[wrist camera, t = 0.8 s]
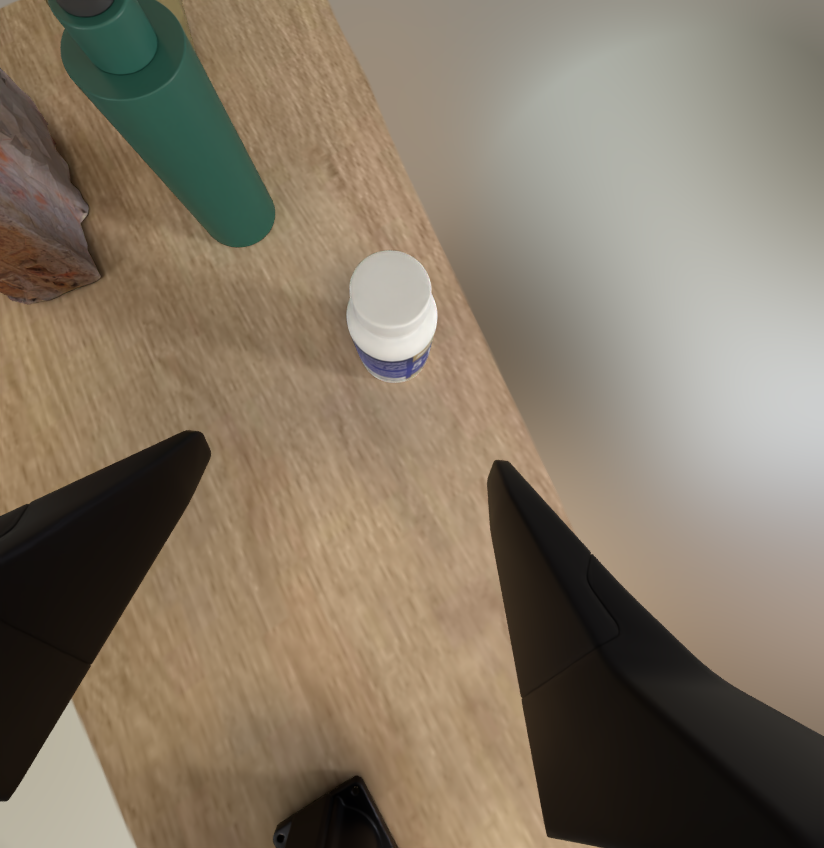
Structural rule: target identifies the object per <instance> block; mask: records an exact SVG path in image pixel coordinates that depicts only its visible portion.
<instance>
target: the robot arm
mask: <svg viewBox="0 0 824 848" xmlns="http://www.w3.org/2000/svg"><path fill="white" fill-rule="evenodd" d="M210 457H211V450H210V448H209V446H208V443H207V441H206V439H205V437H204V435H203V433H201V432H199V431H191V430H186V431H183V432H181V433H179V434H177V435H174V436H172V437H170V438H168V439H166V440H164V441H161V442H159V443H157V444H155V445H153V446H151V447H149V448H146V449H144V450H142V451H140V452H138V453H136V454H133V455H131V456H129V457H127V458H125V459H123V460H121V461H118V462H116V463H114V464H112V465H110V466H108V467H105V468H103V469H101V470H99V471H97V472H95V473H93V474H90V475H88V476H86V477H84V478H82V479H80V480H77V481H75V482H73V483H71V484H69V485H67V486H65V487H62V488H60V489H58V490H56V491H54V492H52V493H49V494H47V495H45V496H43V497H41V498H39V499H37V500H34V501H32V502H31V503H30V504H26V505H23V506H21V507H19V508H17V509H15V510H13V511H11V512H8V513H6V514H4V515H2V516H0V801H8V800H9V799H10V797H11V796H12V794H13V793H14V792H15V790H16V788H17V787H18V785H19V784H20V782H21V781H22V779H23V777H24V776H25V774H26V773H27V771H28V769H29V768H30V766H31V764H32V763H33V761H34V759H35V758H36V756H37V754H38V753H39V751H40V749H41V748H42V746H43V744H44V743H45V741H46V739H47V738H48V736H49V734H50V733H51V731H52V730H53V728H54V726H55V724H56V723H57V721H58V720H59V718H60V716H61V715H62V713H63V711H64V710H65V708H66V706H67V705H68V703H69V701H70V700H71V698H72V696H73V695H74V693H75V691H76V690H77V688H78V687H79V685H80V683H81V682H82V680H83V678H84V677H85V675H86V673H87V672H88V670H89V668H90V667H91V665H90V664H92V663H93V661H94V660H95V658H96V656H97V655H98V653H99V651H100V650H101V648H102V646H103V645H104V643H105V641H106V640H107V638H108V637H109V635H110V633H111V632H112V630H113V628H114V627H115V625H116V623H117V622H118V620H119V618H120V617H121V615H122V613H123V612H124V610H125V608H126V607H127V605H128V603H129V602H130V600H131V599H132V597H133V595H134V594H135V592H136V590H137V589H138V587H139V585H140V584H141V582H142V580H143V579H144V577H145V575H146V574H147V572H148V570H149V569H150V567H151V565H152V564H153V562H154V561H155V559H156V557H157V556H158V554H159V552H160V551H161V549H162V547H163V546H164V544H165V542H166V541H167V539H168V537H169V536H170V534H171V532H172V531H173V529H174V527H175V526H176V524H177V523H178V521H179V519H180V518H181V516H182V514H183V513H184V511H185V509H186V508H187V506H188V504H189V502H190V500H191V498H192V496H193V494H194V492H195V490H196V488H197V486H198V484H199V482H200V479H201V477H202V475H203V473H204V471H205V469H206V466H207V464H208V462H209V460H210ZM487 489H488V505H489V520H490V531H491V537H492V542H493V548H494V553H495V559H496V564H497V569H498V575H499V580H500V586H501V591H502V596H503V602H504V607H505V613H506V618H507V623H508V629H509V634H510V640H511V645H512V651H513V656H514V661H515V667H516V672H517V678H518V683H519V688H520V694H521V697H522V705H523V711H524V716H525V722H526V727H527V733H528V738H529V743H530V749H531V754H532V760H533V765H534V770H535V776H536V781H537V787H538V792H539V798H540V803H541V808H542V814H543V819H544V824H545V829H546V833H547V837H550V838H555V839H560V840H565V841H571V842H576V843H581V844H586V845H591V846H597V847H602V848H824V736H822V735H820V734H818V733H817V732H815V731H813V730H811V729H809V728H807V727H806V726H804V725H802V724H800V723H799V722H797V721H795V720H793V719H791V718H790V717H788V716H786V715H784V714H782V713H781V712H779V711H777V710H775V709H773V708H772V707H770V706H768V705H766V704H764V703H763V702H761V701H759V700H757V699H755V698H754V697H752V696H750V695H748V694H746V693H745V692H743V691H741V690H739V689H738V688H736V687H734V686H733V685H731V684H729V683H728V682H727V681H725V680H724V679H722V678H721V677H719V676H718V675H717V674H715V673H714V672H713V671H711V670H710V669H709V668H708V667H707V666H705V665H704V664H703V663H702V662H701V661H699V660H698V659H697V658H696V657H695V656H694V655H693V654H692V653H691V652H690V651H689V650H687V648H686V647H685V646H684V645H683V644H681V643H680V642H679V641H678V640H677V639H676V638H675V637H674V636H673V635H672V634H671V633H670V632H669V631H668V630H667V629H666V628H665V627H664V626H663V625H662V624H661V623H660V622H659V621H658V620H657V619H655V618H654V617H653V616H652V615H651V614H650V613H649V612H648V611H647V610H646V609H645V608H644V607H643V606H642V605H641V604H640V603H639V602H638V601H637V600H636V599H635V598H634V597H633V596H632V595H631V594H630V593H629V592H628V591H627V590H626V589H625V588H624V587H623V586H622V585H621V584H620V583H619V582H618V581H617V580H616V579H615V578H614V577H613V576H612V575H611V574H610V572H609V571H608V570H607V569H606V568H605V567H604V566H603V565H602V564H601V563H600V562H599V561H598V559H596V557H595V556H594V555H593V554H591V552H590V551H589V550H588V549H587V547H586V546H585V545H584V544H583V543H582V542H581V541H580V540H579V539H578V537H577V536H576V535H575V534H574V533H573V532H572V531H571V530H570V529H569V528H568V526H567V525H566V524H565V523H564V522H563V521H562V520H561V519H560V518H559V516H558V515H557V514H556V513H555V512H554V511H553V510H552V509H551V508H550V507H549V505H548V504H547V503H546V502H545V501H544V500H543V499H542V498H541V497H540V495H539V494H538V493H537V492H536V491H535V490H534V489H533V488H532V487H531V486H530V484H529V483H528V482H527V481H526V480H525V479H524V478H523V477H522V476H521V474H520V473H519V472H518V471H517V470H516V469H515V468H514V467H513V466H512V464H511V463H510V462H508V461H503V460H495V461H494V463H493V465H492V468H491V470H490V473H489V476H488V480H487ZM355 786H356V787H358V788H354V787H355ZM281 834H283V835H281ZM273 842H274V845H275V847H276V848H397V846H396V844H395V842H394V840H393V838H392V836H391V834H390V832H389V830H388V828H387V826H386V824H385V822H384V820H383V818H382V816H381V814H380V813H379V811H378V809H377V807H376V805H375V803H374V801H373V799H372V797H371V795H370V793H369V791H368V789H367V787H366V785H365V783H364V781H363V779H362V778H361V777H359V776H354V777H352V778H351V779H349V780H348V781H346V782H344V783H343V784H341V785H340V786H338V787H337V788H335V789H333V790H332V791H330V792H329V793H327V794H325V795H324V796H322V797H321V798H319V799H318V800H316V801H314V802H313V803H311V804H310V805H308V806H306V807H305V808H303V809H302V810H300V811H299V812H297V813H295V814H294V815H292V816H291V817H289V818H288V819H286V820H284V821H283V822H281V823H280V824H279V825H277V827H276V830H275V833H274V836H273Z"/></svg>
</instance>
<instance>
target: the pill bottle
mask: <svg viewBox="0 0 824 848" xmlns="http://www.w3.org/2000/svg"><path fill="white" fill-rule="evenodd" d="M349 291H350V300H349V302H348V306H347V325H348V329H349V332H350V335H351V337H352V340H353V342H354V344H355V347H356V349H357V351H358V354H359V356H360V358H361V361H362V363H363V364H364V366H365V368H366V369H367V370H368V371H369V372H370V373H371V374H372V375H373V376H374V377H376V378H378V379H380V380H382V381H385V382H389V383H400V382H404V381H407V380H410V379H412V378H413V377H415V376H416V375H417V374H418V373H419V372H420V371H421V370H422V369H423V367H424V365H425V363H426V361H427V358H428V355H429V351H430V347H431V344H432V340H433V337H434V333H435V330H436V325H437V308H436V303H435V301H434V298H433V296H432V294H431V283H430V279H429V276H428V274H427V272H426V270H425V269H424V267H423V266H422V265H421V263H420V262H419V261H417V260H416V259H415V258H413V257H412V256H410V255H408V254H406V253H403V252H400V251H392V250H386V251H380V252H376V253H374V254H371V255H369V256H368V257H366V258H365V259H364V260H363V261H361V262H360V263H359V265H358V266H357V267H356V269H355V270H354V272H353V275H352V277H351V280H350V290H349Z"/></svg>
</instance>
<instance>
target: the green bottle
mask: <svg viewBox="0 0 824 848" xmlns="http://www.w3.org/2000/svg"><path fill="white" fill-rule="evenodd" d="M48 4H49V6H50V8H51V11H52V12H53V14H54V15H55V16H56V18H57V19H58V20H59V21H60V23H61V24H62V25H63V26H64V28H65V29H64V32H63V35H62V39H61V57H62V61H63V64H64V67H65V69H66V71H67V73H68V74H69V76H70V78H71V79H72V80H73V81H74V82H75V83H76V85H77V86H78V87H79V88H80V89H81V90H82V91H83V92H84V94H85V95H86V96H87V97H88V98H89V99H90V100H91V101H92V103H93V104H94V105H95V106H96V107H97V108H98V109H99V110H100V112H101V113H102V114H103V115H104V116H105V117H106V118H107V119H108V120H109V122H110V123H111V124H112V125H113V126H114V127H115V128H116V129H117V131H118V132H119V133H120V134H121V135H122V136H123V137H124V138H125V140H126V141H127V142H128V143H129V144H130V145H131V146H132V147H133V149H134V150H135V151H136V152H137V153H138V154H139V155H140V156H141V158H142V159H143V160H144V161H145V162H146V163H147V164H148V165H149V167H150V168H151V169H152V170H153V171H154V172H155V173H156V174H157V175H158V177H159V178H160V179H161V180H162V181H163V182H164V183H165V184H166V186H167V187H168V188H169V189H170V190H171V191H172V192H173V193H174V195H175V196H176V197H177V198H178V199H179V200H180V201H181V202H182V204H183V205H184V206H185V207H186V208H187V209H188V210H189V211H190V213H191V214H192V215H193V216H194V217H195V218H196V219H197V220H198V222H199V223H200V224H201V225H202V226H203V227H204V228H205V229H206V230H207V232H208V233H209V234H210V235H211V236H212V237H213V238H214V239H215V240H217V241H218V242H220V243H222V244H224V245H227V246H231V247H246V246H250V245H253V244H255V243H257V242H259V241H260V240H262V239H263V238H264V237H265V236H266V235H267V234H268V233H269V231H270V230H271V228H272V226H273V223H274V220H275V207H274V204H273V201H272V199H271V197H270V195H269V193H268V191H267V189H266V187H265V185H264V183H263V181H262V180H261V178H260V176H259V174H258V172H257V170H256V168H255V166H254V164H253V162H252V160H251V158H250V156H249V155H248V153H247V151H246V149H245V147H244V145H243V143H242V141H241V139H240V137H239V135H238V133H237V131H236V130H235V128H234V126H233V124H232V122H231V120H230V118H229V116H228V114H227V112H226V110H225V108H224V106H223V105H222V103H221V101H220V99H219V97H218V95H217V93H216V91H215V89H214V87H213V85H212V83H211V81H210V80H209V78H208V76H207V74H206V72H205V70H204V68H203V66H202V64H201V62H200V60H199V58H198V56H197V55H196V53H195V51H194V49H193V47H192V45H191V43H190V41H189V39H188V37H187V35H186V33H185V31H184V30H183V28H182V26H181V24H180V22H179V21H178V19H177V18H176V16H175V15H174V14H173V13H172V12H171V11H170V10H169V9H168V8H167V7H166V6H164V5H163V4H161V3H160V2H158V1H156V0H48Z"/></svg>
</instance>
